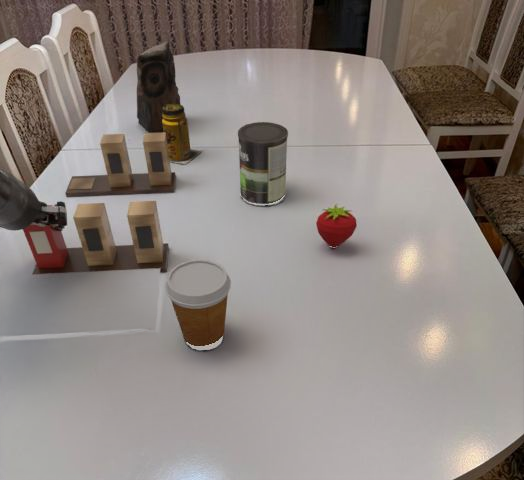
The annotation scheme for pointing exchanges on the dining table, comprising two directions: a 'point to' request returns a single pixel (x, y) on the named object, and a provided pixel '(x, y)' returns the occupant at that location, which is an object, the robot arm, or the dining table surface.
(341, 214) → the strawberry
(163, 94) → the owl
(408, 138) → the dining table surface
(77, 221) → the front word
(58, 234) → the red labeled block
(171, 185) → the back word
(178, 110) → the condiment
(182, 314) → the disposable coffee cup
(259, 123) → the coffee can
